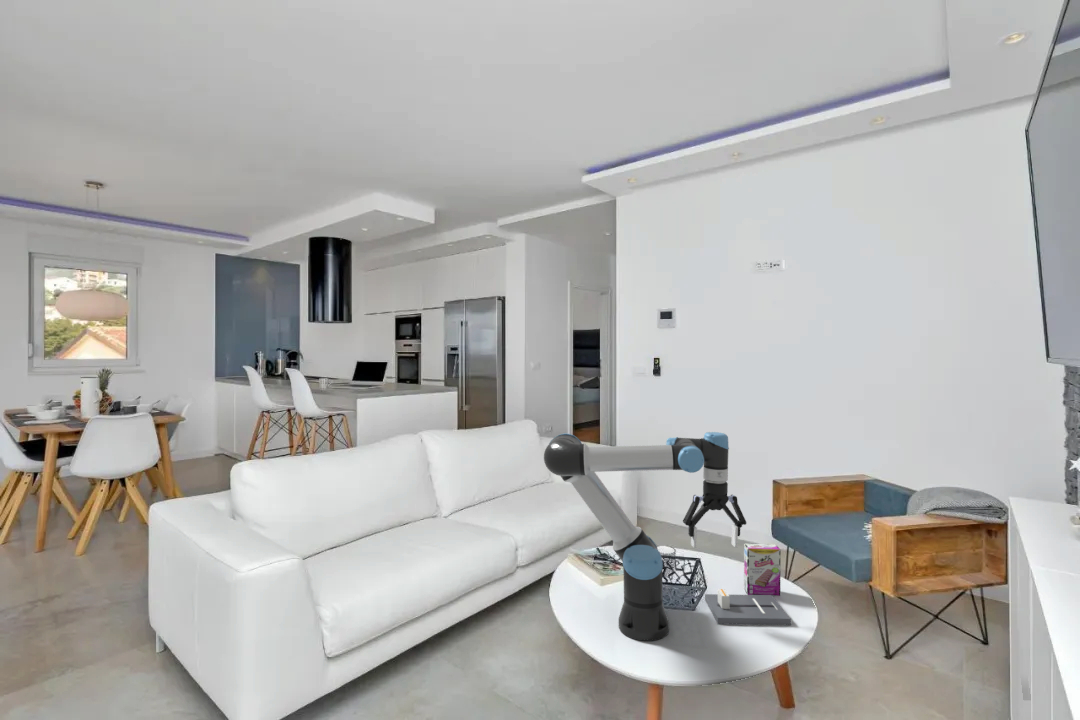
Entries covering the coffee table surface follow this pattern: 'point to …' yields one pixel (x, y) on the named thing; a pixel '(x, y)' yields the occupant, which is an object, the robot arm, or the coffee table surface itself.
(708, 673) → the coffee table surface
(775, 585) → the candy bar box
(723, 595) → the fader cap
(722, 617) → the console
